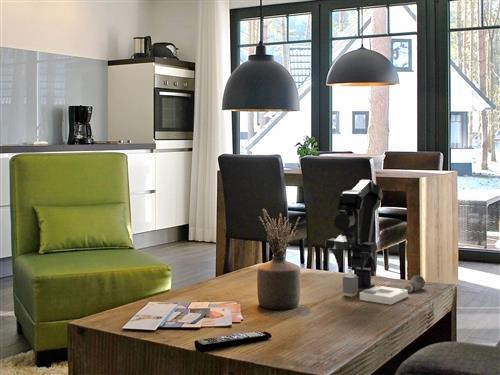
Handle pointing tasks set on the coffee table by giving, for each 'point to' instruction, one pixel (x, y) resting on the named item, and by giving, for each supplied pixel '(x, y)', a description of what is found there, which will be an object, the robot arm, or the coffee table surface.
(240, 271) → the coffee table surface
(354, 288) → the plug
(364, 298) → the socket plate
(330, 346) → the coffee table surface
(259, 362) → the coffee table surface
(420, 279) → the stone
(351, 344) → the coffee table surface
